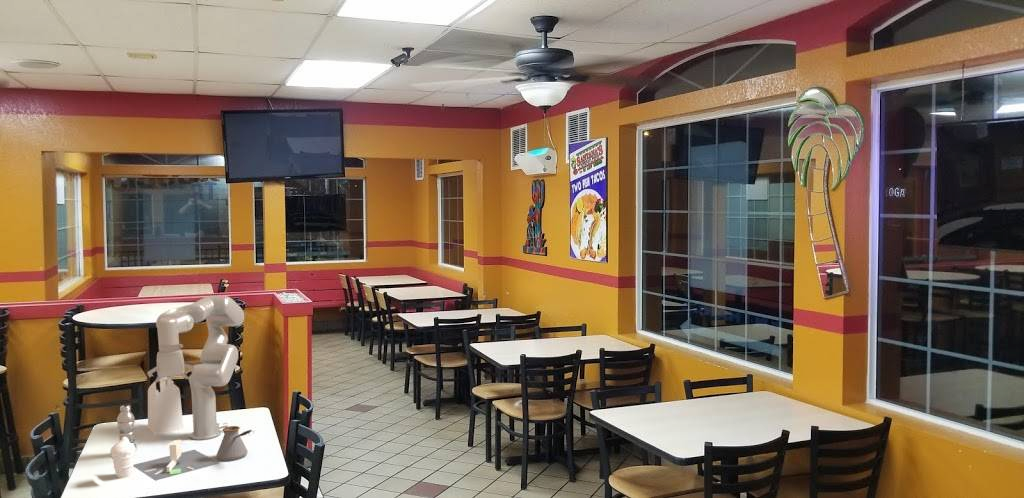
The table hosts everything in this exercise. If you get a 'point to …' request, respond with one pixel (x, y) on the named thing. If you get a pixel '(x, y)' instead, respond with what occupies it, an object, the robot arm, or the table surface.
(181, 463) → the plate
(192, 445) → the table surface
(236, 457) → the coffee pot
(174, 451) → the peg head
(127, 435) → the plastic bottle
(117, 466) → the soft serve ice cream cone
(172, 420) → the milk
